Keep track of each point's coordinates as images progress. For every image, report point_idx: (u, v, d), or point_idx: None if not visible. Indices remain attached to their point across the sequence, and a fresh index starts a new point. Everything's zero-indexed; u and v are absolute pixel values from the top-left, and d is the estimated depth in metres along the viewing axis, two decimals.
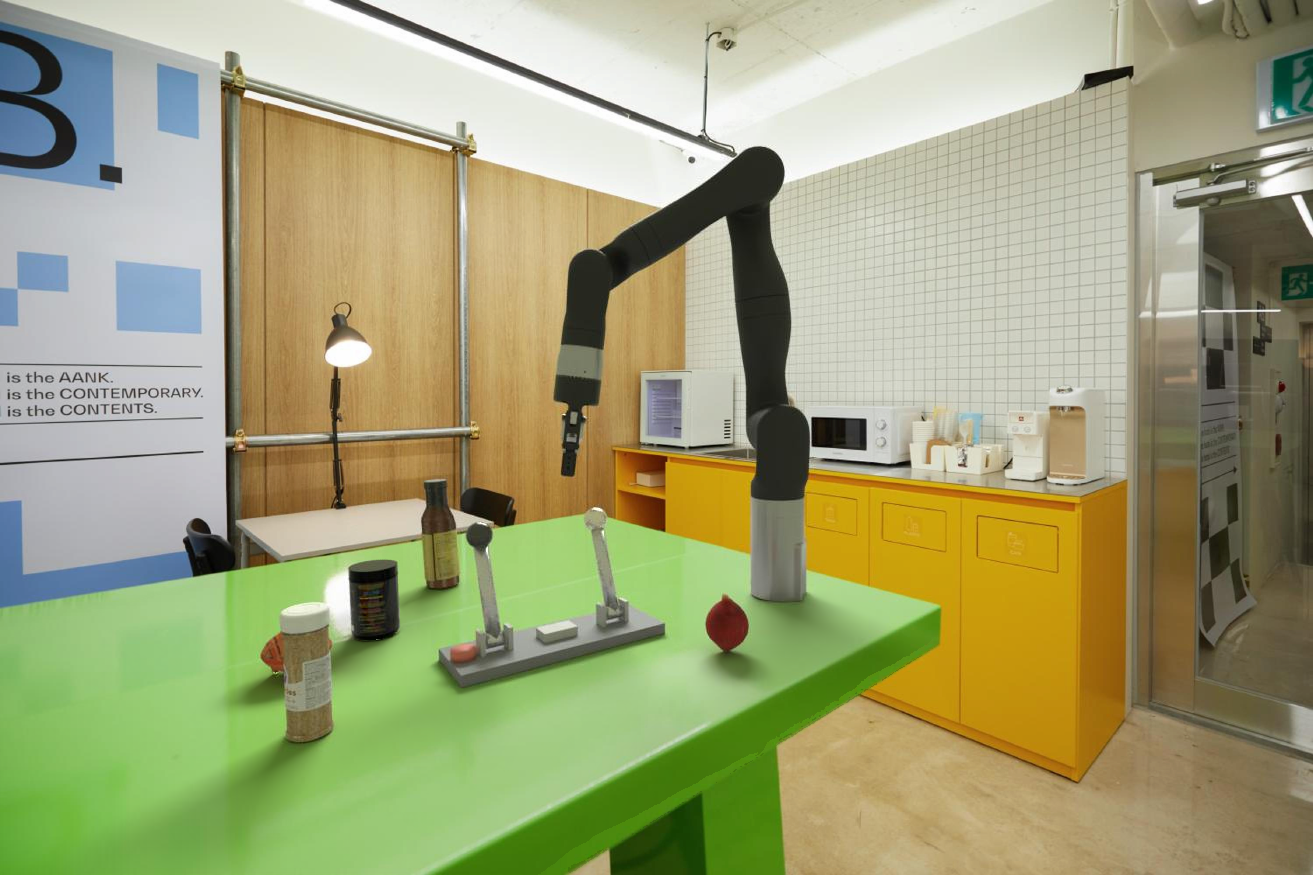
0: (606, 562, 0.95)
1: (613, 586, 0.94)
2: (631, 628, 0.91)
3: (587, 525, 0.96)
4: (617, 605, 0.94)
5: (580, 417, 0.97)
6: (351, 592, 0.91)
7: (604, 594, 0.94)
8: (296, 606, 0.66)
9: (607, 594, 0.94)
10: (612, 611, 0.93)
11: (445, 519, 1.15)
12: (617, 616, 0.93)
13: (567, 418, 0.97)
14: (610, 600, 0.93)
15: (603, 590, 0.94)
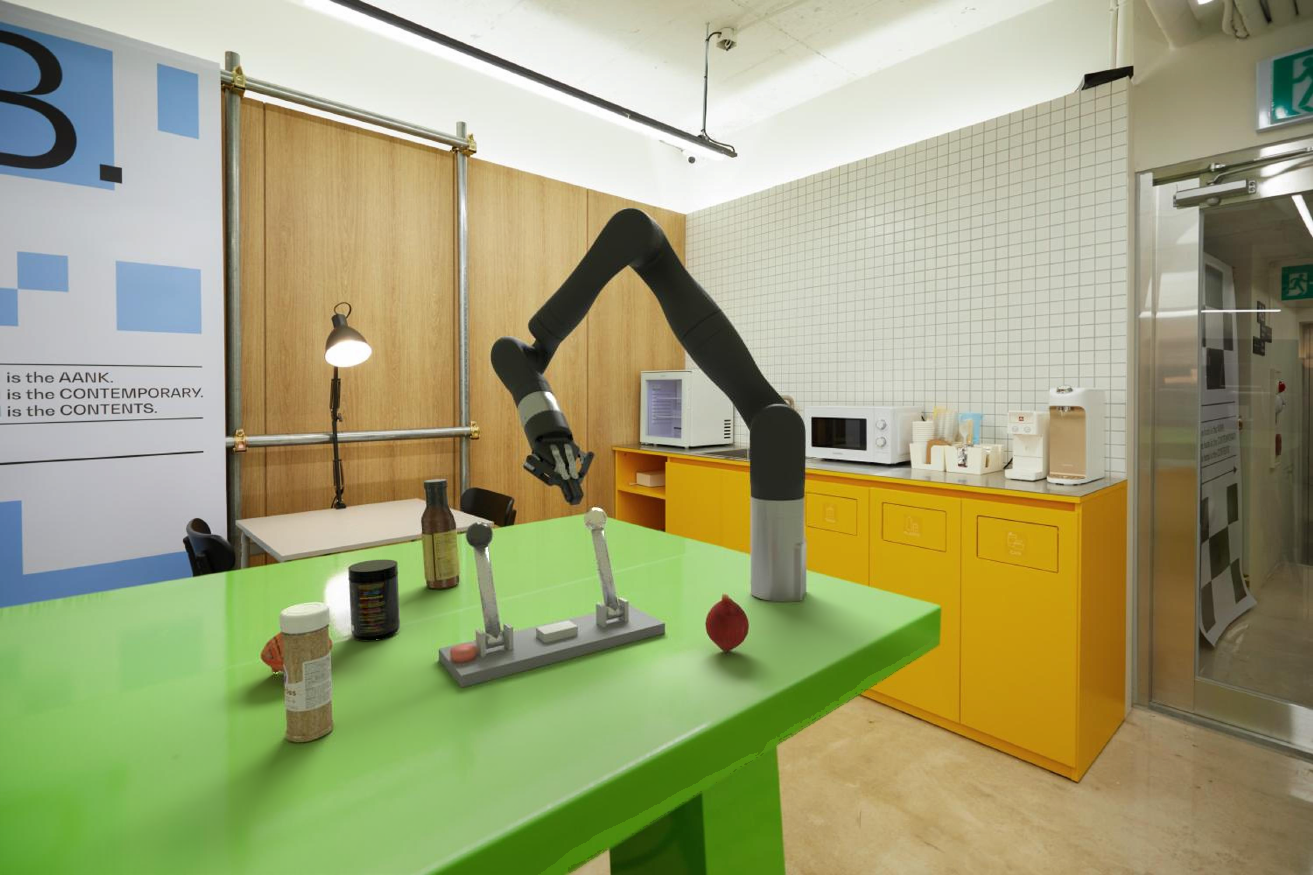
0: (606, 562, 0.95)
1: (613, 586, 0.94)
2: (631, 628, 0.91)
3: (587, 525, 0.96)
4: (617, 605, 0.94)
5: (529, 461, 1.02)
6: (351, 592, 0.91)
7: (604, 594, 0.94)
8: (296, 606, 0.66)
9: (607, 594, 0.94)
10: (612, 611, 0.93)
11: (445, 519, 1.15)
12: (617, 616, 0.93)
13: (528, 470, 1.04)
14: (610, 600, 0.93)
15: (603, 590, 0.94)
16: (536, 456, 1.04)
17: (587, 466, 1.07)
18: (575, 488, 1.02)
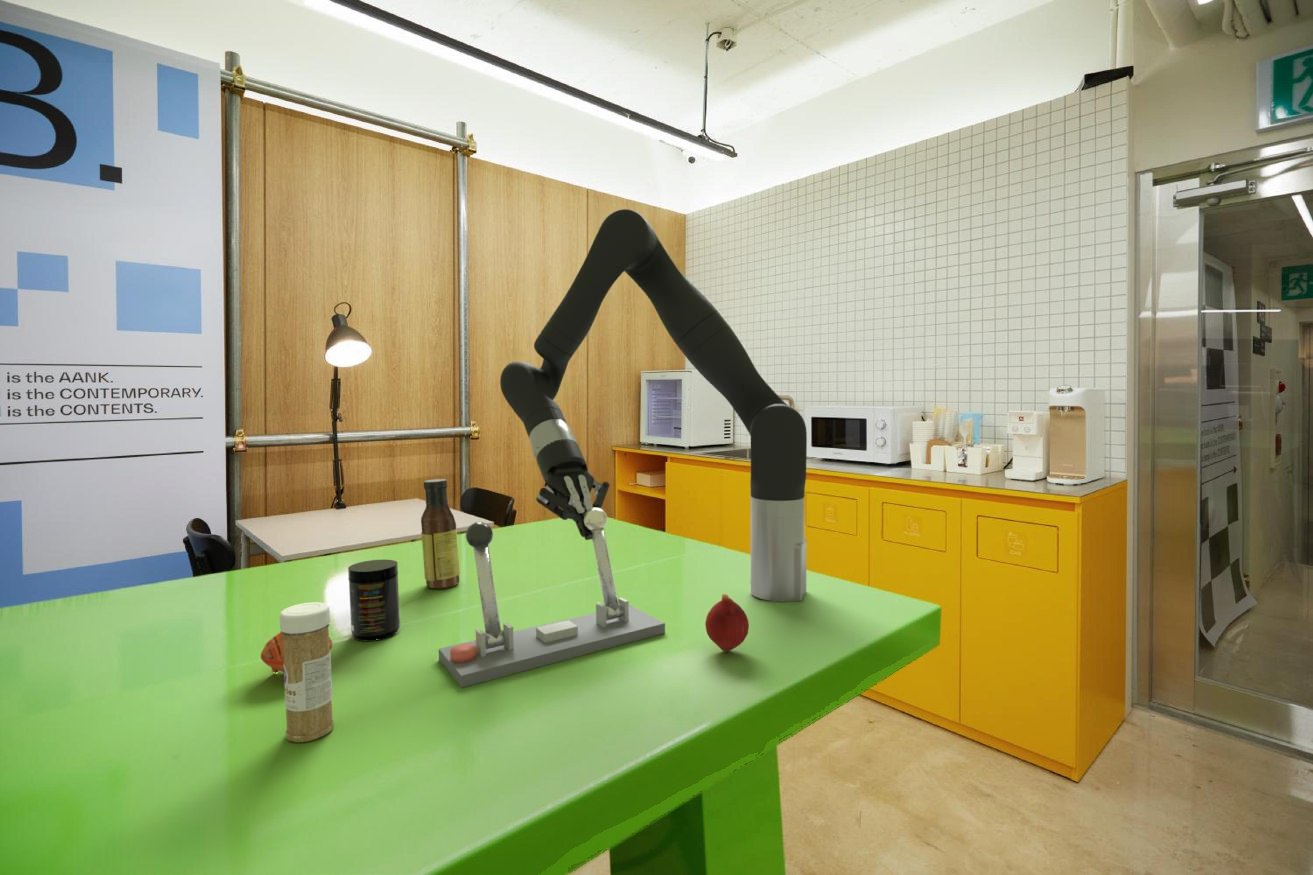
0: (606, 562, 0.95)
1: (613, 586, 0.94)
2: (631, 628, 0.91)
3: (587, 525, 0.96)
4: (617, 605, 0.94)
5: (543, 494, 0.99)
6: (351, 592, 0.91)
7: (604, 594, 0.94)
8: (296, 606, 0.66)
9: (607, 594, 0.94)
10: (612, 611, 0.93)
11: (445, 519, 1.15)
12: (617, 616, 0.93)
13: (541, 503, 1.00)
14: (610, 600, 0.93)
15: (603, 590, 0.94)
16: (549, 488, 1.01)
17: (602, 498, 1.03)
18: None
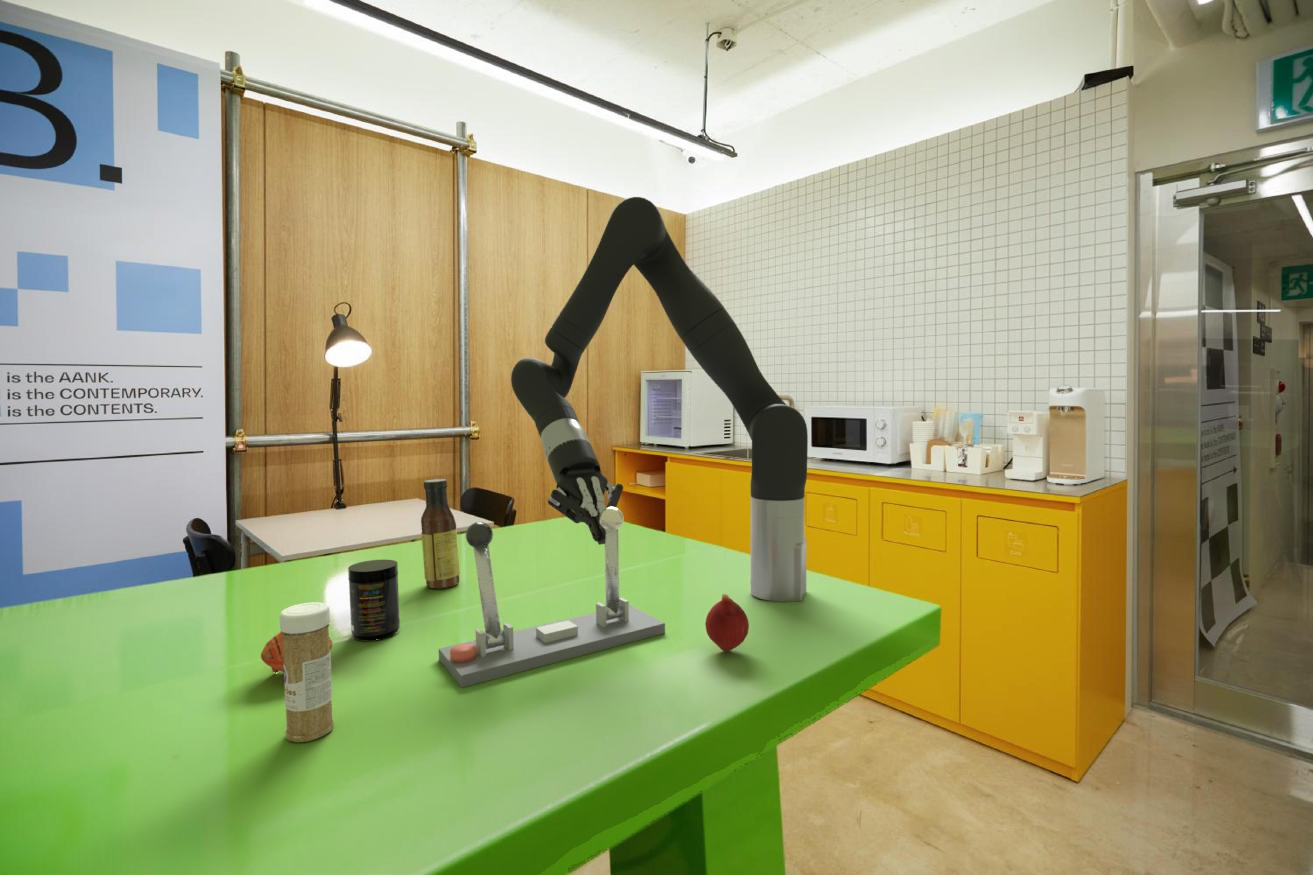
0: (615, 565, 0.93)
1: (617, 589, 0.93)
2: (631, 628, 0.91)
3: (602, 525, 0.92)
4: (618, 607, 0.93)
5: (554, 496, 0.95)
6: (351, 592, 0.91)
7: (607, 595, 0.93)
8: (296, 606, 0.66)
9: (610, 596, 0.93)
10: (612, 613, 0.93)
11: (445, 519, 1.15)
12: (616, 617, 0.94)
13: (553, 505, 0.96)
14: (612, 603, 0.93)
15: (607, 591, 0.93)
16: (562, 490, 0.97)
17: (616, 500, 0.99)
18: None
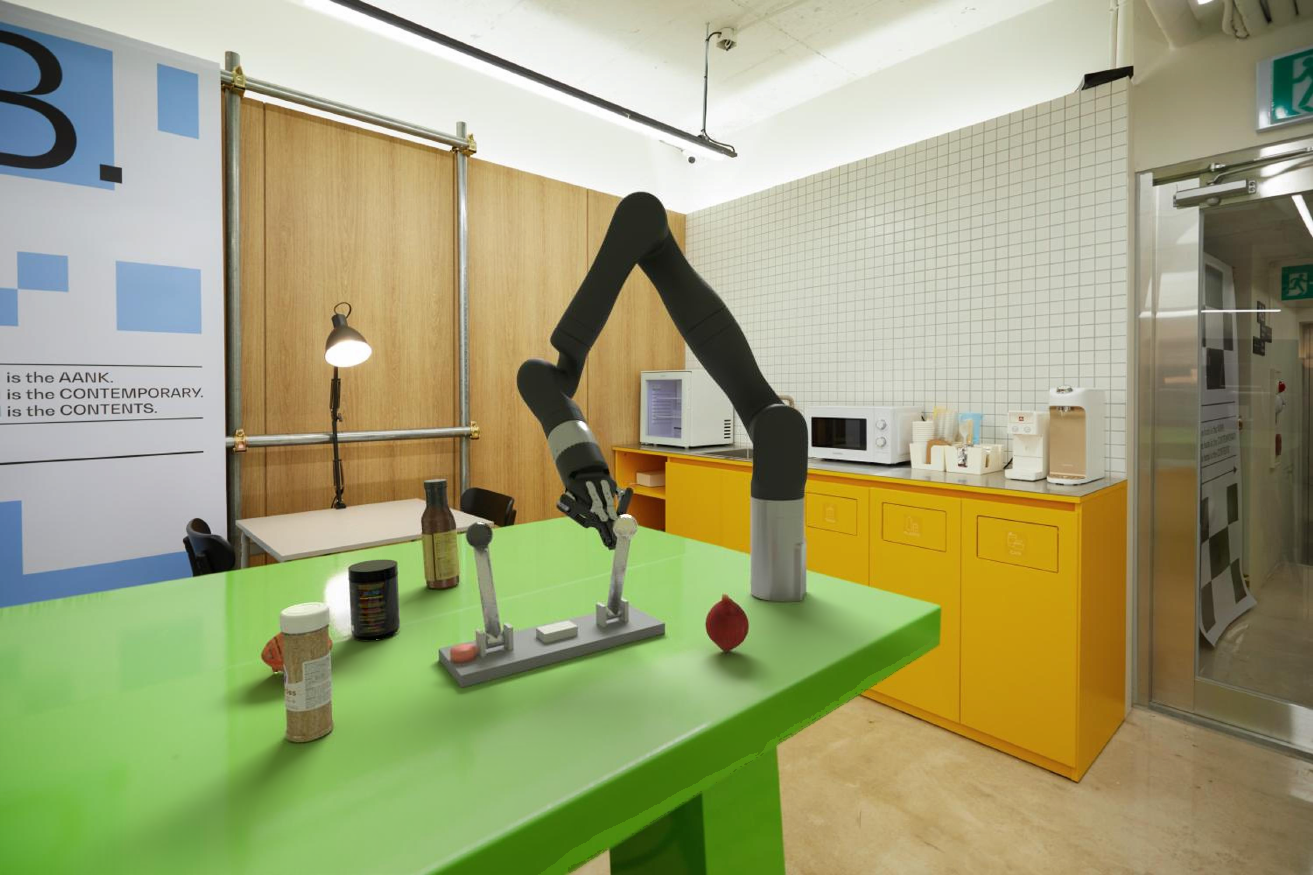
0: (622, 572, 0.91)
1: (621, 593, 0.92)
2: (631, 628, 0.91)
3: (615, 533, 0.89)
4: (619, 609, 0.93)
5: (564, 501, 0.92)
6: (351, 592, 0.91)
7: (610, 598, 0.92)
8: (296, 606, 0.66)
9: (613, 599, 0.92)
10: (612, 615, 0.93)
11: (445, 519, 1.15)
12: None
13: (562, 510, 0.93)
14: (614, 606, 0.92)
15: (610, 594, 0.92)
16: (570, 494, 0.94)
17: (626, 505, 0.96)
18: None
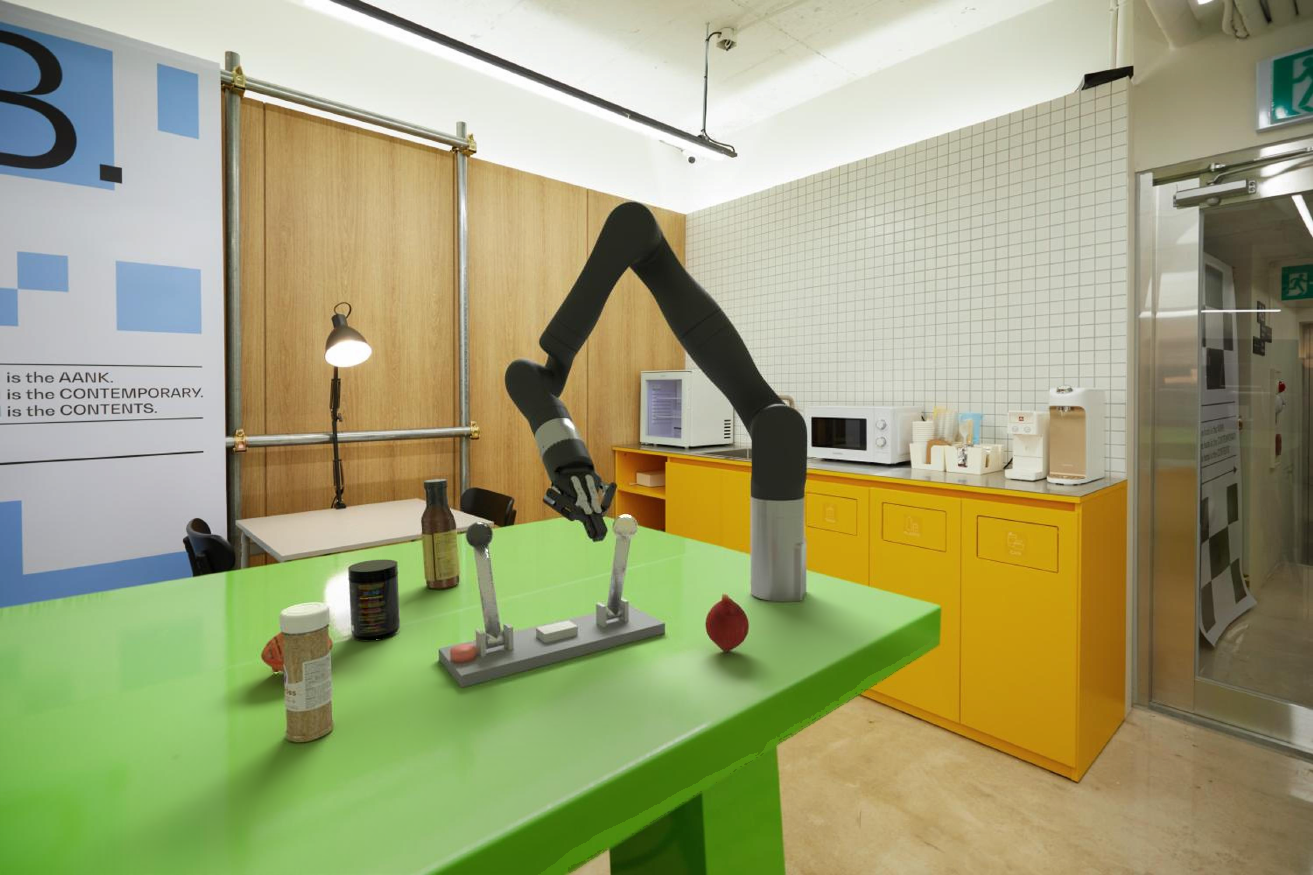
0: (622, 572, 0.91)
1: (621, 593, 0.92)
2: (631, 628, 0.91)
3: (615, 533, 0.89)
4: (619, 609, 0.93)
5: (549, 495, 0.96)
6: (351, 592, 0.91)
7: (610, 598, 0.92)
8: (296, 606, 0.66)
9: (613, 599, 0.92)
10: (612, 615, 0.93)
11: (445, 519, 1.15)
12: None
13: (548, 504, 0.97)
14: (614, 606, 0.92)
15: (610, 594, 0.92)
16: (556, 489, 0.98)
17: (610, 499, 1.00)
18: (598, 523, 0.96)
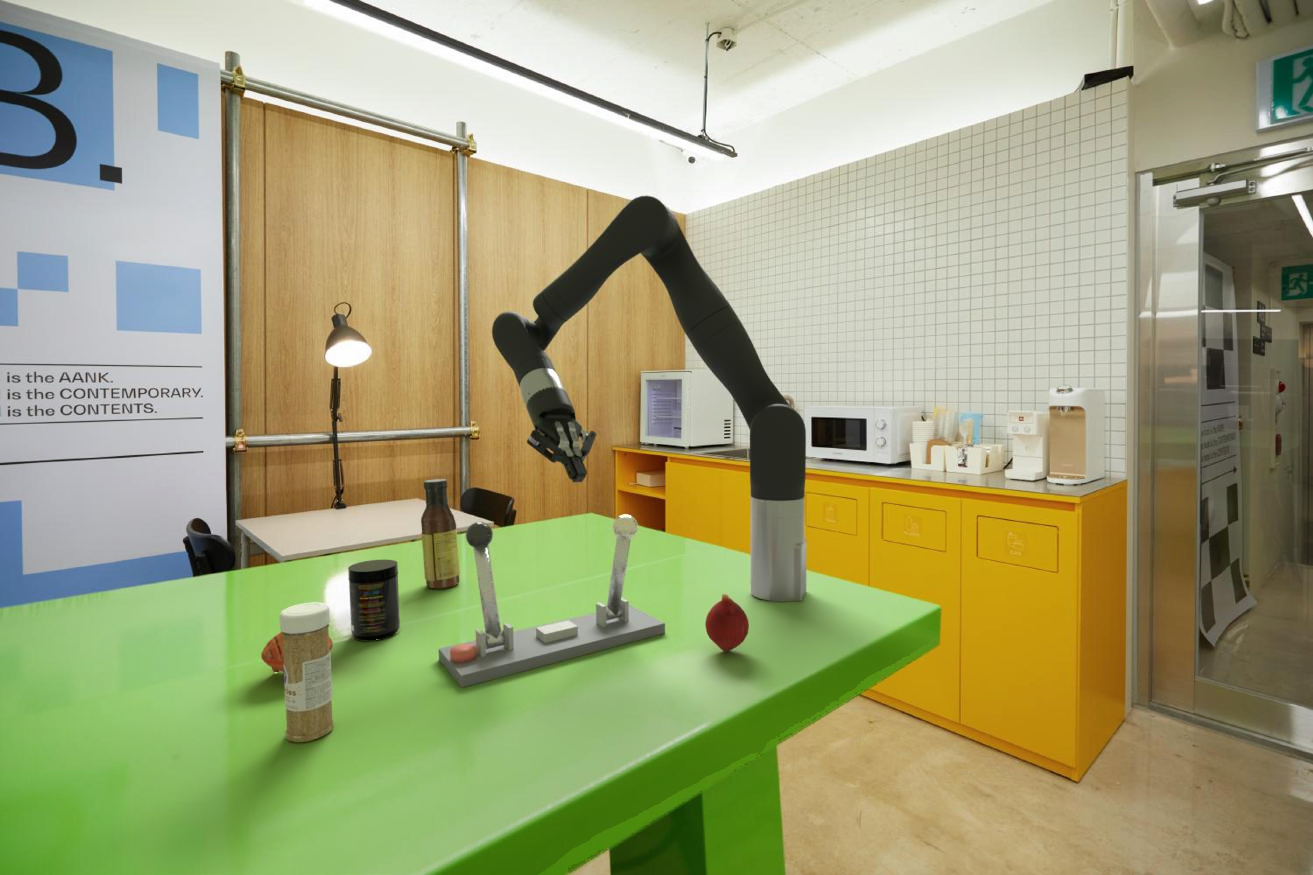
0: (622, 572, 0.91)
1: (621, 593, 0.92)
2: (631, 628, 0.91)
3: (615, 533, 0.89)
4: (619, 609, 0.93)
5: (534, 436, 1.02)
6: (351, 592, 0.91)
7: (610, 598, 0.92)
8: (296, 606, 0.66)
9: (613, 599, 0.92)
10: (612, 615, 0.93)
11: (445, 519, 1.15)
12: None
13: (532, 445, 1.03)
14: (614, 606, 0.92)
15: (610, 594, 0.92)
16: (540, 432, 1.04)
17: (590, 445, 1.07)
18: (579, 465, 1.03)
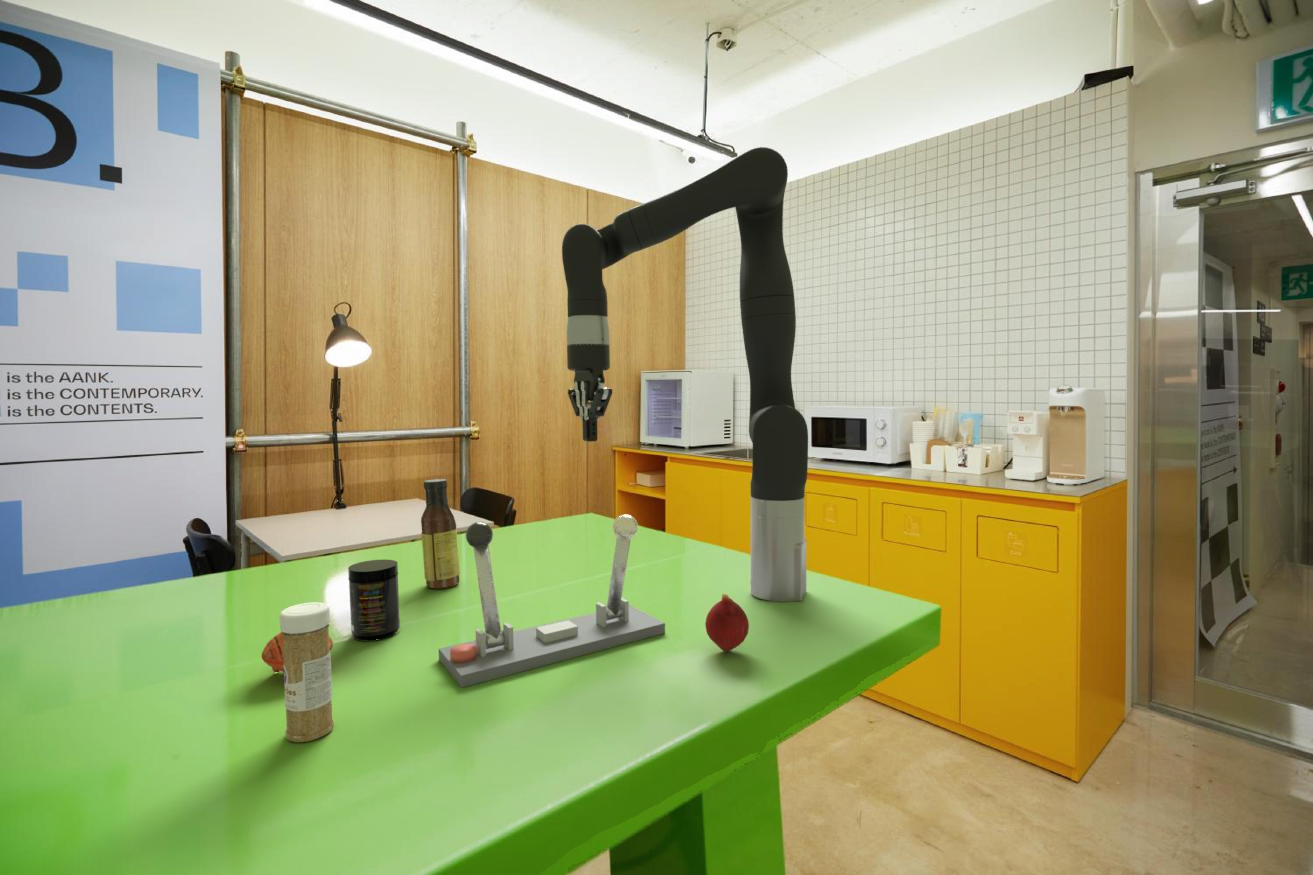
0: (622, 572, 0.91)
1: (621, 593, 0.92)
2: (631, 628, 0.91)
3: (615, 533, 0.89)
4: (619, 609, 0.93)
5: (610, 394, 1.08)
6: (351, 592, 0.91)
7: (610, 598, 0.92)
8: (296, 606, 0.66)
9: (613, 599, 0.92)
10: (612, 615, 0.93)
11: (445, 519, 1.15)
12: None
13: (600, 396, 1.07)
14: (614, 606, 0.92)
15: (610, 594, 0.92)
16: None
17: None
18: None
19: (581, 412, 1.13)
